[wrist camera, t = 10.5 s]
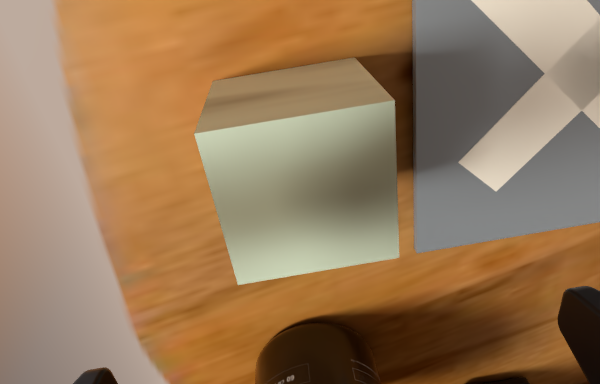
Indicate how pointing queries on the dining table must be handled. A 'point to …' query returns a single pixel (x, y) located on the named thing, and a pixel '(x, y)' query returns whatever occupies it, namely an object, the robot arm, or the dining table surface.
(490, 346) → the dining table surface
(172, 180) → the dining table surface
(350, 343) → the supplement bottle
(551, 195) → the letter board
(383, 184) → the sage cube
